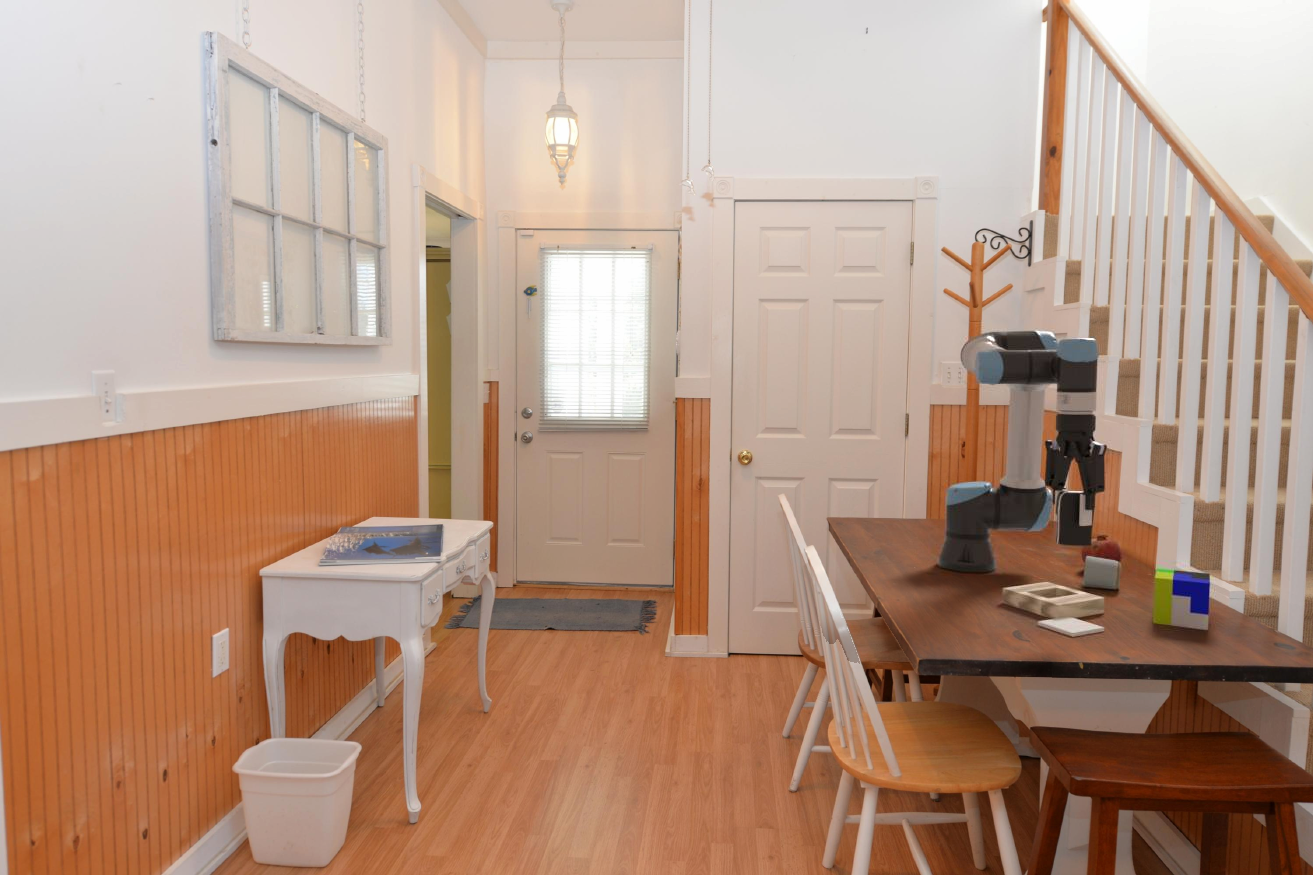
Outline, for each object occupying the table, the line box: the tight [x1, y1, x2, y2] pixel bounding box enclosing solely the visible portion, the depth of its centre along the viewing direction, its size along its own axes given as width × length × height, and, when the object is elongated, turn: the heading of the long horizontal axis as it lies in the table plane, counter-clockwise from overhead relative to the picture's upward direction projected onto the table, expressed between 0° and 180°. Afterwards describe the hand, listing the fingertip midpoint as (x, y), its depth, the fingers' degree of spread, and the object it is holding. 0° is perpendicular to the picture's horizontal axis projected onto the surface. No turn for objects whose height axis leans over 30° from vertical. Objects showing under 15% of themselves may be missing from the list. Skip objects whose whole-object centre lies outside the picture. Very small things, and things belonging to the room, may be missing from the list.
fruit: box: [1081, 534, 1123, 564], centre depth 234 cm, size 11×10×10 cm
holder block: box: [1002, 581, 1106, 619], centre depth 201 cm, size 16×14×4 cm
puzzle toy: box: [1152, 568, 1211, 631], centre depth 190 cm, size 10×10×10 cm
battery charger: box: [1055, 490, 1095, 547], centre depth 184 cm, size 7×4×11 cm, turn 86°
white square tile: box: [1037, 616, 1105, 638], centre depth 185 cm, size 9×9×1 cm
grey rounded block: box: [1082, 556, 1122, 590], centre depth 219 cm, size 11×8×8 cm
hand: (1072, 522), depth 184 cm, fingers closed on battery charger, 6 cm apart
